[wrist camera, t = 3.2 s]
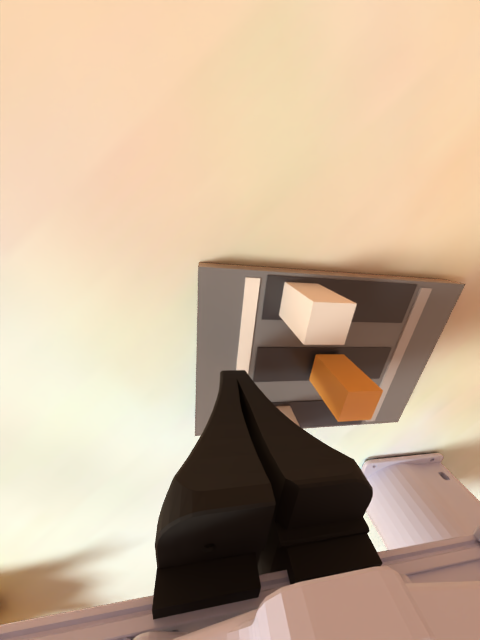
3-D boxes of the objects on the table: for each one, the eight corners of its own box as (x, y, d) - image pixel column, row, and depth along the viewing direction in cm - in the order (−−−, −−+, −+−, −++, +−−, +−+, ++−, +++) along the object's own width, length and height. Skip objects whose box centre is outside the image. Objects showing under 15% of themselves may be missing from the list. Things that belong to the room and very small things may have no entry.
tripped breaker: (343, 354, 15) (383, 390, 11) (335, 379, 15) (370, 419, 12) (315, 354, 14) (348, 391, 11) (309, 379, 15) (338, 421, 12)
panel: (444, 279, 16) (542, 302, 11) (385, 409, 20) (438, 463, 16) (198, 262, 13) (197, 283, 8) (195, 420, 17) (193, 490, 13)
